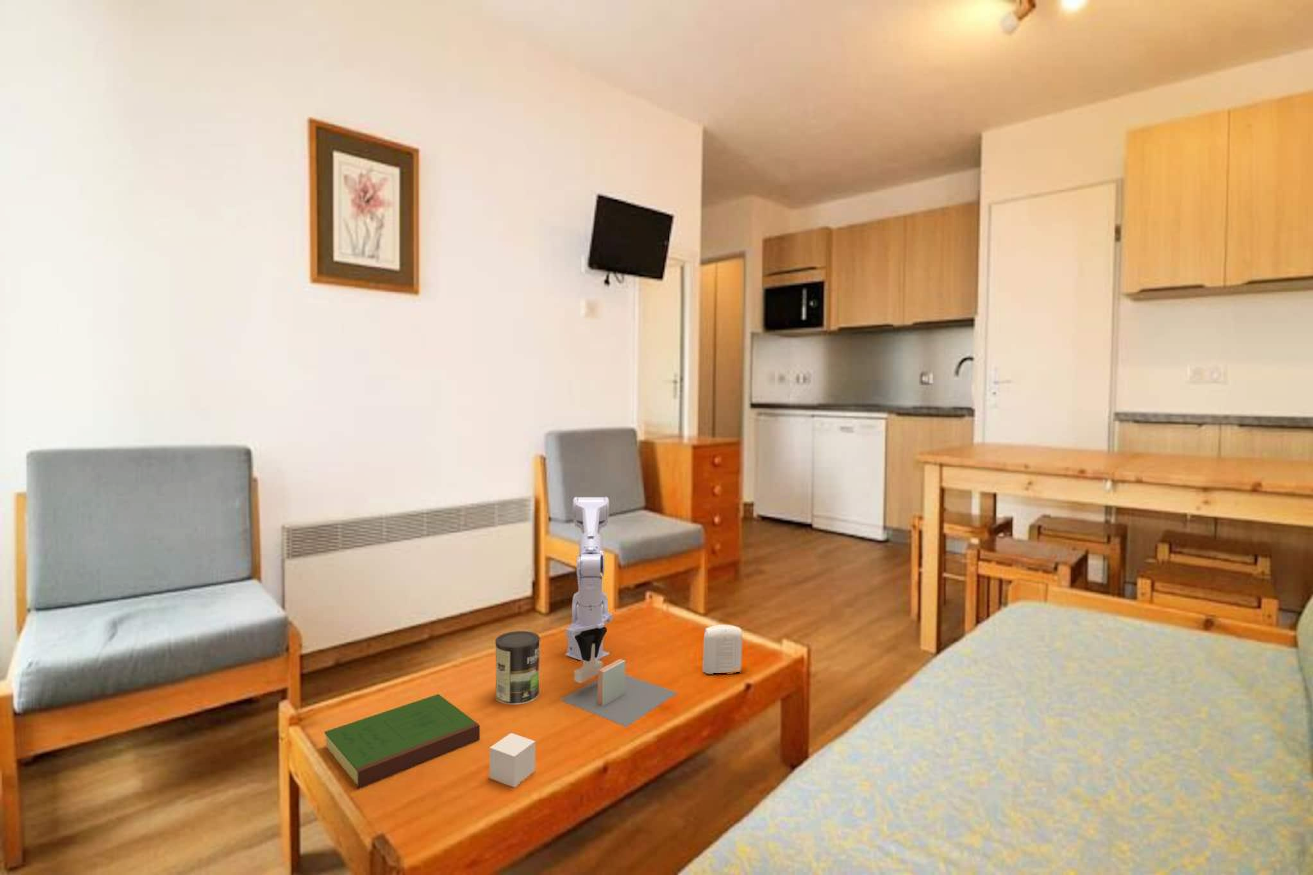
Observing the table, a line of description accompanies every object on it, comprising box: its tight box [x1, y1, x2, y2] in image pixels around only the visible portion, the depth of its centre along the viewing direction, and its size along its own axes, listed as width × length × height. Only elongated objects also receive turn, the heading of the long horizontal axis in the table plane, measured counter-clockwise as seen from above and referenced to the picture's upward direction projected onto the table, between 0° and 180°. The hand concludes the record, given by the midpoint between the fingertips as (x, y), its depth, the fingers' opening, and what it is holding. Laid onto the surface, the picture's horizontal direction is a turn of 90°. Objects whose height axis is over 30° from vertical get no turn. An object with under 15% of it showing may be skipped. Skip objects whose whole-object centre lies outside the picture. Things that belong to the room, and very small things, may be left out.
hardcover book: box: [324, 693, 481, 790], centre depth 131 cm, size 25×19×4 cm
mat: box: [559, 674, 678, 728], centre depth 152 cm, size 20×20×1 cm
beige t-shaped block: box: [573, 643, 604, 684], centre depth 154 cm, size 2×8×8 cm, turn 144°
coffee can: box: [495, 630, 541, 705], centre depth 152 cm, size 10×10×14 cm
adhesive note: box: [489, 733, 536, 788], centre depth 121 cm, size 6×6×6 cm
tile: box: [597, 658, 626, 706], centre depth 150 cm, size 2×8×8 cm, turn 144°
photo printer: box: [702, 624, 743, 675], centre depth 167 cm, size 10×4×12 cm, turn 98°
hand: (589, 658), depth 154 cm, fingers closed on beige t-shaped block, 2 cm apart
